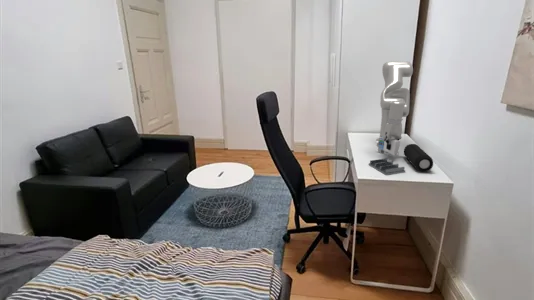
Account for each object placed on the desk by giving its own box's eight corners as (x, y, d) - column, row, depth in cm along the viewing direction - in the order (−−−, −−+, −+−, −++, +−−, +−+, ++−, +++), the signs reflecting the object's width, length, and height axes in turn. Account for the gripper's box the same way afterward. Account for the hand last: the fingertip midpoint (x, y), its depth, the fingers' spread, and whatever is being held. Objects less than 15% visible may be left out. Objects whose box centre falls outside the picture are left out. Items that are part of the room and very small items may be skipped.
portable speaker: (433, 173, 165) (436, 157, 161) (414, 172, 166) (417, 156, 163) (417, 157, 189) (420, 142, 185) (401, 157, 190) (403, 142, 187)
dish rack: (368, 164, 177) (369, 160, 176) (386, 162, 181) (387, 157, 180) (385, 175, 163) (386, 170, 162) (405, 172, 167) (405, 167, 166)
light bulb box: (377, 152, 199) (379, 137, 195) (382, 150, 203) (384, 135, 199) (392, 156, 191) (394, 140, 187) (397, 154, 195) (399, 138, 191)
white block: (383, 149, 190) (384, 136, 186) (387, 149, 190) (388, 136, 187) (393, 155, 181) (395, 141, 177) (397, 154, 182) (399, 141, 178)
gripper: (401, 118, 184) (397, 145, 190) (379, 120, 179) (376, 148, 186) (410, 121, 177) (405, 149, 184) (387, 124, 173) (383, 152, 179)
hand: (390, 148), depth 185 cm, fingers closed on white block, 3 cm apart
